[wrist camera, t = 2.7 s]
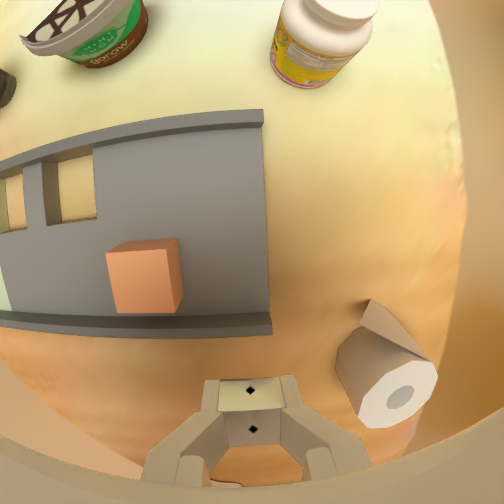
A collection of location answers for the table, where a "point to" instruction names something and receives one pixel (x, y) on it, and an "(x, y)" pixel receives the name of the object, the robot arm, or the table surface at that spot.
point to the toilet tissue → (384, 370)
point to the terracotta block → (146, 276)
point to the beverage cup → (6, 87)
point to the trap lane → (144, 229)
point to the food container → (90, 31)
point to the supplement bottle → (319, 38)
